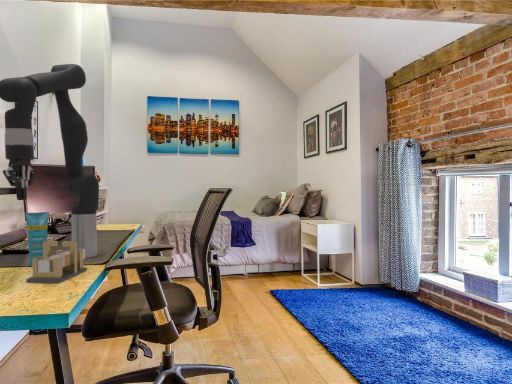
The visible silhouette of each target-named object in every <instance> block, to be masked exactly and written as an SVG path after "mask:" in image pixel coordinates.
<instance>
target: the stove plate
mask: <svg viewBox="0 0 512 384" xmlns="http://www.w3.org/2000/svg"><path fill="white" fill-rule="evenodd" d="M87 269H88V268H87V267H83V268H82V269H77V272H76V273H70V269H62V277H61V278H59V279H54V278H33V276H31V277H29V278H27V279H25V280H26V284H27V283H29V284H31V283H34V284H37V283H38V284H39V283H40V284H59V283H62V282H64V281H67V280H69V279H71V278H73V277H75V276H76V277H77V276H78V275H80V274H82V273H84V272H86V271H87Z"/></svg>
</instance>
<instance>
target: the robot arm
mask: <svg viewBox="0 0 512 384" xmlns="http://www.w3.org/2000/svg"><path fill="white" fill-rule="evenodd" d="M86 82H87V75H86V72H85V70H84V68H83V67H82V66H80V65H79V64H76V63H66V64H55V65H53V66H52V67H51V69H50V71H48V72H39V73H34V74H29V75H25V76H19V77H17V76H16V77H7V78H3V79H1V80H0V99H1V100H3V101H4V102H7V103H16V105H15V106H14V107H13V108H11V109H8V110H6V111H5V112H4V152H5V153H4V154H5V159H6V160H9V161H8V165H7V166H8V168H7V169H3V170H2V174H3V176H4V177H5V179H6V180H7V182H8V183H9V185H10V187H14V188H15V189H16V191H15V193H16V200H18V201H25V200H27V199H28V191H27V190H28V189H27V188H29V186H32V184H33V182H34V179H35V178H36V175H37V172H38V170H37V169H33V168H32V166H33V165H32V162H31V161H32V160H34V159H35V150H34V149H35V148H34V147H35V146H34V136H33V127H32V126H33V125H32V124H33V123H32V122H33V121H32V117H33V112H34V108H35V105H36V101H37V98H39V97H42V96H45V95H48V94H51V93H54V98H55V101H56V106H57V112H58V118H59V127H60V135H61V141H62V144H63V154H64V162H65V163H64V164H65V167H64V168H65V185H66V189H67V191H68V193H69V194H70V195H71V196H72V197H75V198H76V197H77V198H78V197H79V198H78V202H77V203H76V205H73V206H72V207H71V209H70V211H71V212H70V213H71V217H70V218H71V224H70V225H71V241H77V249H85V259H86V258H87V259H88V258H94V257H97V255H98V229H97V225H98V224H97V223H98V222H97V210H98V207H99V202H100V201H99V198H100V185H99V184H100V183H99V179H98V178H97V177H96V176H95V175H94V174H92V173H84V170H83V157H84V154H85V151H86V148H87V147H88V141H89V139H88V138H89V137H88V131H87V124H86V122H85V120H84V118H83V117H82V115H81V114H80V113H79V112H78V110H77V109H76V107H74V105H73V103H72V101H71V98H70V95H69V90H78V89H81V88H83V87H84V86H85V84H86Z"/></svg>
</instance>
